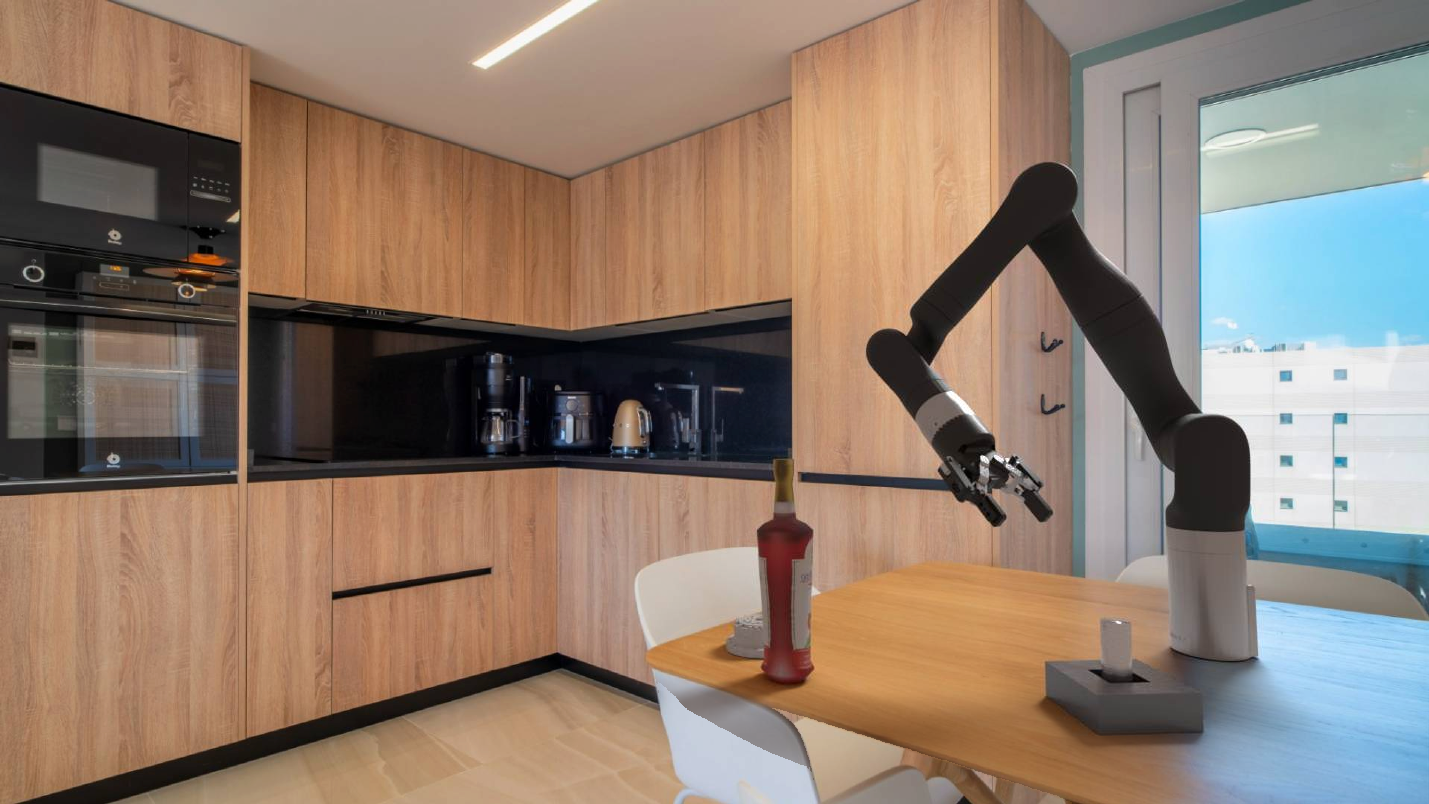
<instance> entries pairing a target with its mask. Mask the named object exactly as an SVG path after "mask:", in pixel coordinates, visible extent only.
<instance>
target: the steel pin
mask: <svg viewBox="0 0 1429 804" xmlns="http://www.w3.org/2000/svg"><path fill="white" fill-rule="evenodd" d="M1099 624H1100V625H1099V626H1100V627H1099V628H1100V629H1099V630H1100V631H1099V633H1100V657H1101V658H1100V660H1101V667H1102V679H1104V680H1105V681H1107V682H1109V683H1133V671H1132V659H1133V645H1132V644H1133V643H1132V640H1133V639H1132V622H1131V620H1127V619H1124V618H1117V617H1101V618H1100V619H1099Z"/></svg>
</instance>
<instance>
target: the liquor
mask: <svg viewBox="0 0 1429 804" xmlns="http://www.w3.org/2000/svg"><path fill="white" fill-rule="evenodd" d="M772 463H773V477H774V482H775V487H774V500H773V502H774V503H773V515H772V518H771V519H770V520H768V521H765V522H764V523H763V524H761V525H760V526H759V527H758V528H757V529H756V540H757V557H758V559H757V560H758V574H759V575H758V576H759V586H760V589H759V590H760V601H761V614H762V620H763V641H764V658H763V661H762V663H761V665H760V669H761V670H762V672H763V673H765V675H766V676H768V677H769V679H770V680H771V681H772V682H776V683H779V684H787V685H789V684H798V683H802V682H803V681H805V680H806V679H807V677H809V675H811V673H813V672H814V670H815V665H814V664H813V661H812V660H811V658H812V657H811V654H812V652H811V650H812V648H811V647H812V646H811V645H812V644H811V643H812V640H811V639H812V638H811V637H812V633H811V631H812V593H813V570H814V568H813V566H814V555H813V554H814V529H813V528H812V527H811V526H810V525H809V524H807V523H806V522H804V521H802V520H799V519H797V514H796V503H795V494H794V486H793V480H794V474H795V459H794V458H776V459H775V458H774V459H773V462H772Z"/></svg>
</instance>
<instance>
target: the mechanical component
mask: <svg viewBox="0 0 1429 804" xmlns="http://www.w3.org/2000/svg"><path fill="white" fill-rule="evenodd" d="M725 649H726V651H727V652H729V653H730V654H732V655H735V656H738V657H742V658H749V659H764V641H763V620H762V613H761V614H760V613H759V614H758V613H756V614H749V615H748V614H747V615H743V616H741V617H736V618H735V619H734V620H733V634H732V635H730V636H727V638H725Z"/></svg>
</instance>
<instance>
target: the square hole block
mask: <svg viewBox="0 0 1429 804" xmlns="http://www.w3.org/2000/svg"><path fill="white" fill-rule="evenodd" d="M1044 670H1045V671H1044V672H1045V675H1044V676H1045V696H1046V697H1047V698H1049V699H1050V700H1052V701H1053V702H1054V703H1055V704H1057V705H1058V706H1060V708H1063V710H1065V711H1066V712H1067V713H1069V714H1070V715H1072V716H1073V717H1075V719H1077V720H1079V721H1080V722H1081V723H1083V724H1084V725H1085V726H1086V727H1088V728H1089V729H1090V730H1092V731H1093V732H1095V733H1096V734H1097V735H1099V736H1100V735H1102V736H1104V735H1105V736H1107V735H1110V736H1111V735H1138V734H1140V735H1141V734H1168V733H1170V734H1174V733H1175V734H1177V733H1204V732H1205V731H1204V707H1203V692H1202V691H1200V690H1198V689H1196V688H1195V687H1192V686H1190V685H1189V684H1186V683H1184V682H1182V681H1180V680H1179V679H1176V678H1175V677H1172V676H1170V675H1168V674H1166V673H1164V672H1163V671H1161V670H1158V669H1157V668H1155V667H1153V666H1151V665H1149V664H1147V663H1145V662H1143V661H1141V660H1138V659H1137V658H1132V671H1133V683H1109V682H1107V681H1105V680H1104V679H1102V667H1101V659H1084V660H1081V659H1080V660H1079V659H1078V660H1077V659H1076V660H1045V661H1044Z"/></svg>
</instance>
